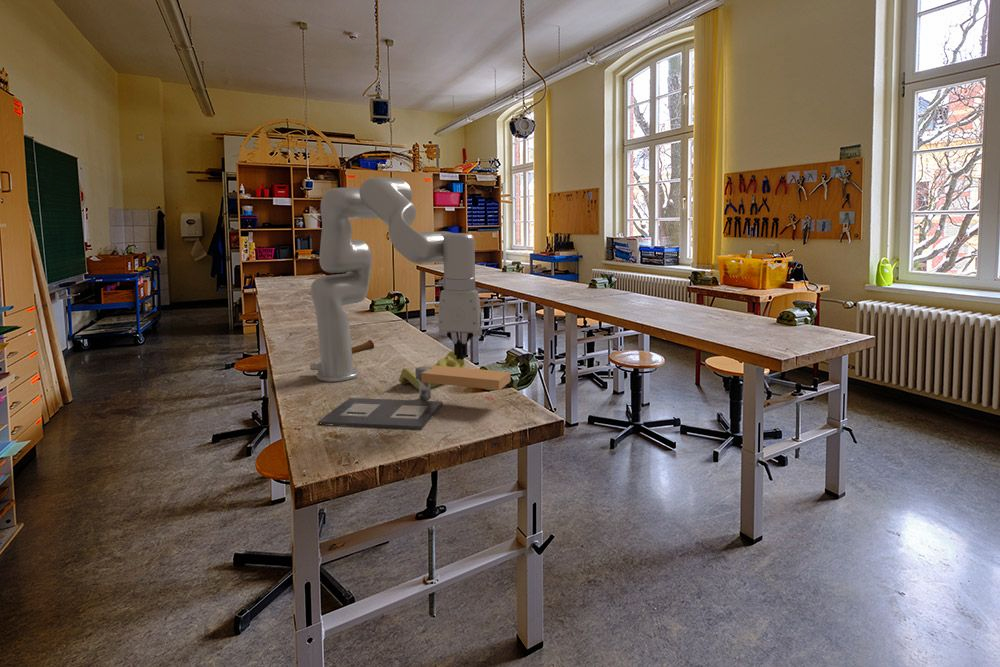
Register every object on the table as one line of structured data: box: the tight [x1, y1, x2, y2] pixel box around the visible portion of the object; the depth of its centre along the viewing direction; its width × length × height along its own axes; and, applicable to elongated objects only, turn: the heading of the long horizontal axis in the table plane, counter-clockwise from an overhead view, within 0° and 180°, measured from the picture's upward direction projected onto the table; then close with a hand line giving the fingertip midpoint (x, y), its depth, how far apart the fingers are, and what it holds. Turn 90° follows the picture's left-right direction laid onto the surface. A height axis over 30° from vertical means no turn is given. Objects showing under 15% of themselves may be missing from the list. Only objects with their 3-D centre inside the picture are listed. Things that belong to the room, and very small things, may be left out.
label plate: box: [317, 380, 443, 430], centre depth 146 cm, size 26×24×6 cm
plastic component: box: [398, 350, 467, 390], centre depth 172 cm, size 20×7×10 cm
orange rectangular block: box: [414, 364, 512, 391], centre depth 150 cm, size 8×26×2 cm, turn 68°
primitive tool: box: [351, 339, 375, 355], centre depth 210 cm, size 19×6×4 cm, turn 144°
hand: (460, 358), depth 142 cm, fingers closed
